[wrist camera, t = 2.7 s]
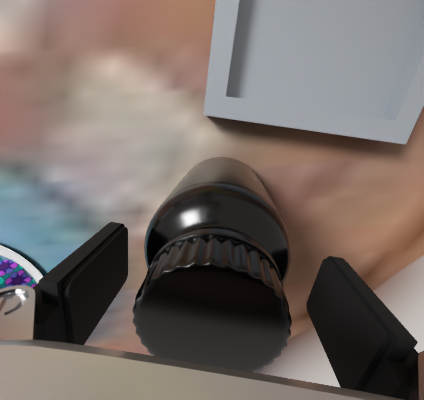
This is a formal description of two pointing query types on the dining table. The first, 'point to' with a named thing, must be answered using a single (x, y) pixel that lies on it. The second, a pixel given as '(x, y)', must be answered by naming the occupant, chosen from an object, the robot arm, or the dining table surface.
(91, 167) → the dining table surface
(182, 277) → the supplement bottle
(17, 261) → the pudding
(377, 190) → the dining table surface
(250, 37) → the tray
